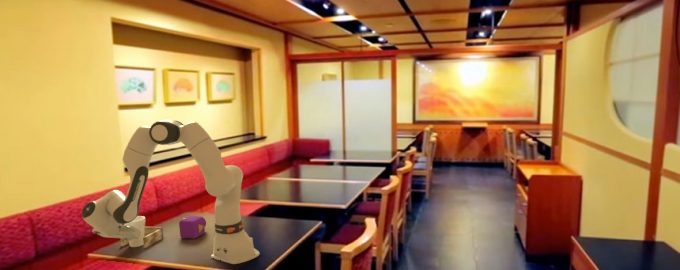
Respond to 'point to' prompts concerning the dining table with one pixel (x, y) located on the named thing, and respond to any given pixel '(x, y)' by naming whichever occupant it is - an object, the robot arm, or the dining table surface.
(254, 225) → the dining table surface
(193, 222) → the toy camera
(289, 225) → the dining table surface
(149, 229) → the cup holder
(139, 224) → the foam cup
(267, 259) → the dining table surface
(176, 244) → the dining table surface
